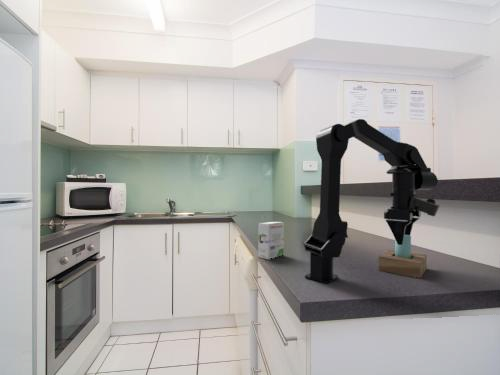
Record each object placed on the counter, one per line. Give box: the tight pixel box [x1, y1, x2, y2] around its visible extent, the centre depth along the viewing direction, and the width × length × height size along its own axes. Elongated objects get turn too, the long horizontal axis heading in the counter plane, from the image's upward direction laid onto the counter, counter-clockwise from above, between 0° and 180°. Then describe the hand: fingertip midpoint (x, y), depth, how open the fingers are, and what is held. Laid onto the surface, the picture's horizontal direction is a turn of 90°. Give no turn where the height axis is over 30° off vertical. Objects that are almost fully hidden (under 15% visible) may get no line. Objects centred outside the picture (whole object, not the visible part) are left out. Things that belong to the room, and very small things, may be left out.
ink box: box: [257, 221, 285, 260], centre depth 88 cm, size 8×5×12 cm, turn 135°
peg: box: [394, 234, 412, 259], centre depth 74 cm, size 4×4×10 cm
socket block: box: [378, 249, 428, 278], centre depth 74 cm, size 12×10×4 cm
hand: (403, 242), depth 74 cm, fingers open, 9 cm apart
